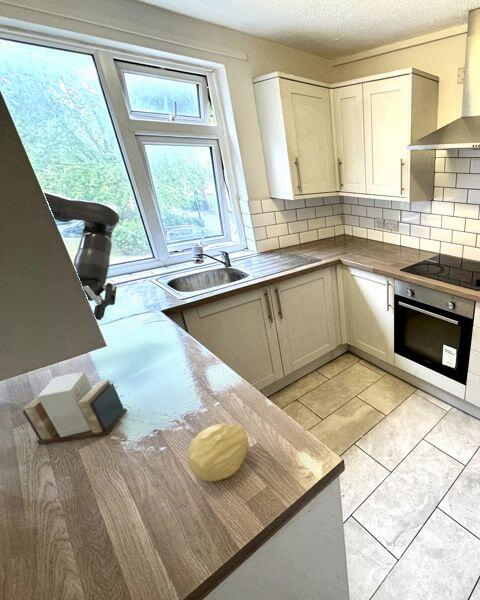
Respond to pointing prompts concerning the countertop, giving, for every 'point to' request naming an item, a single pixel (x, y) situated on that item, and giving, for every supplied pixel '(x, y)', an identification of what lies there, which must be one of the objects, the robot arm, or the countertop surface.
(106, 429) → the book rack
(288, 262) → the countertop surface
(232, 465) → the yellow lumpy ball
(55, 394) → the small box
